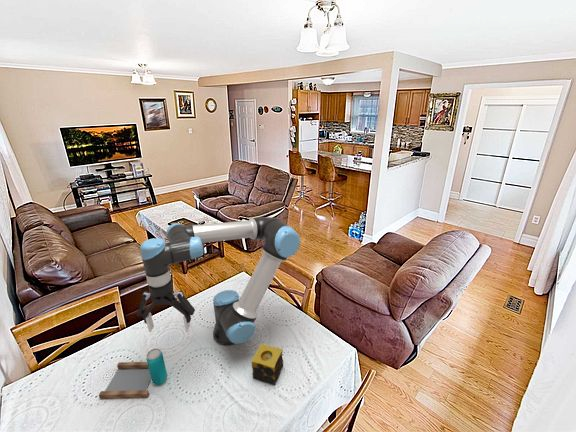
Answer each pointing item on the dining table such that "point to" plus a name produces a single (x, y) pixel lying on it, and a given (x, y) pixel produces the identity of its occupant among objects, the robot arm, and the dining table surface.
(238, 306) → the robot arm
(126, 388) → the mat
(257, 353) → the candle
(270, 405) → the dining table surface
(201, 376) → the dining table surface
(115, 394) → the rail left
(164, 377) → the beverage can
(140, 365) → the rail right
